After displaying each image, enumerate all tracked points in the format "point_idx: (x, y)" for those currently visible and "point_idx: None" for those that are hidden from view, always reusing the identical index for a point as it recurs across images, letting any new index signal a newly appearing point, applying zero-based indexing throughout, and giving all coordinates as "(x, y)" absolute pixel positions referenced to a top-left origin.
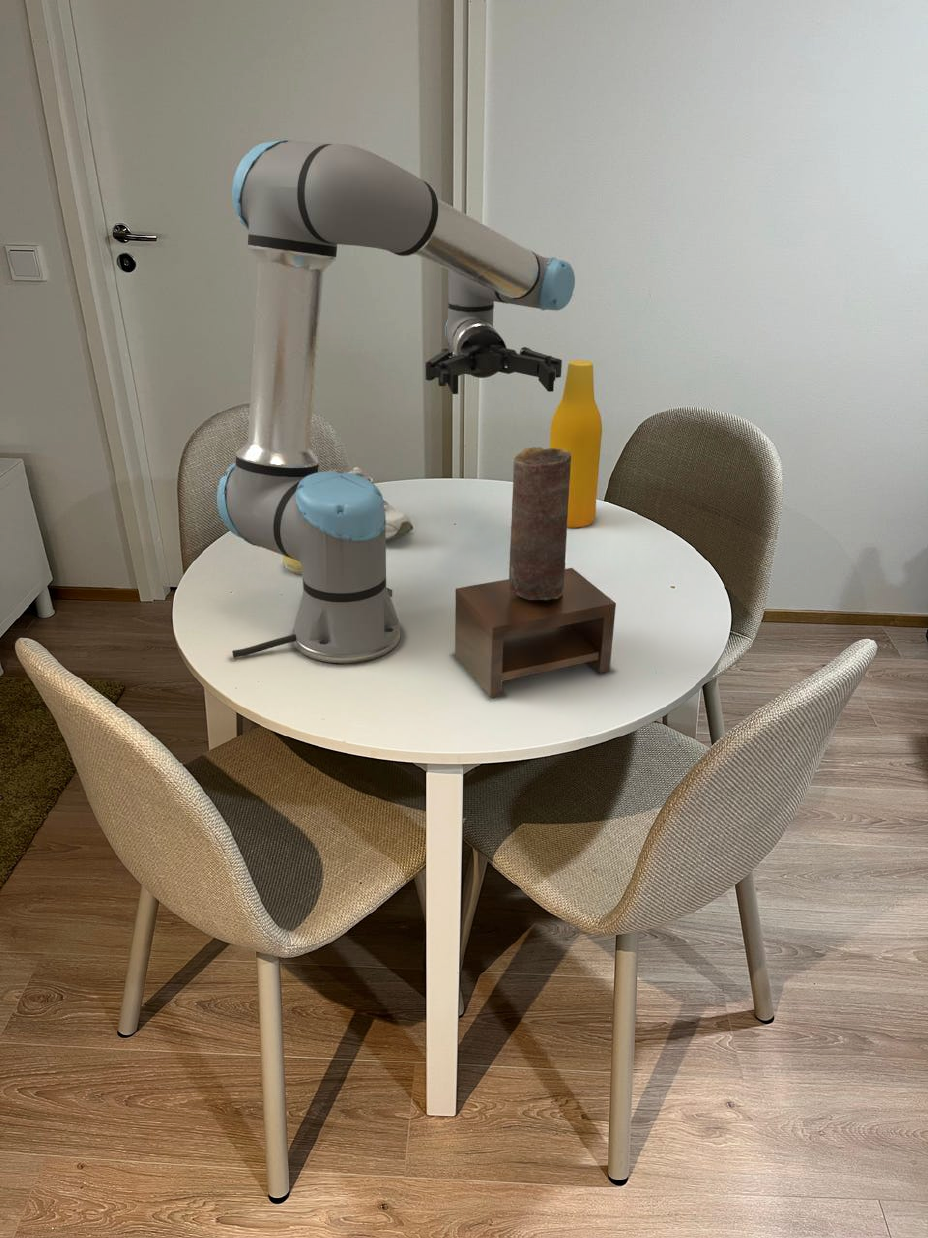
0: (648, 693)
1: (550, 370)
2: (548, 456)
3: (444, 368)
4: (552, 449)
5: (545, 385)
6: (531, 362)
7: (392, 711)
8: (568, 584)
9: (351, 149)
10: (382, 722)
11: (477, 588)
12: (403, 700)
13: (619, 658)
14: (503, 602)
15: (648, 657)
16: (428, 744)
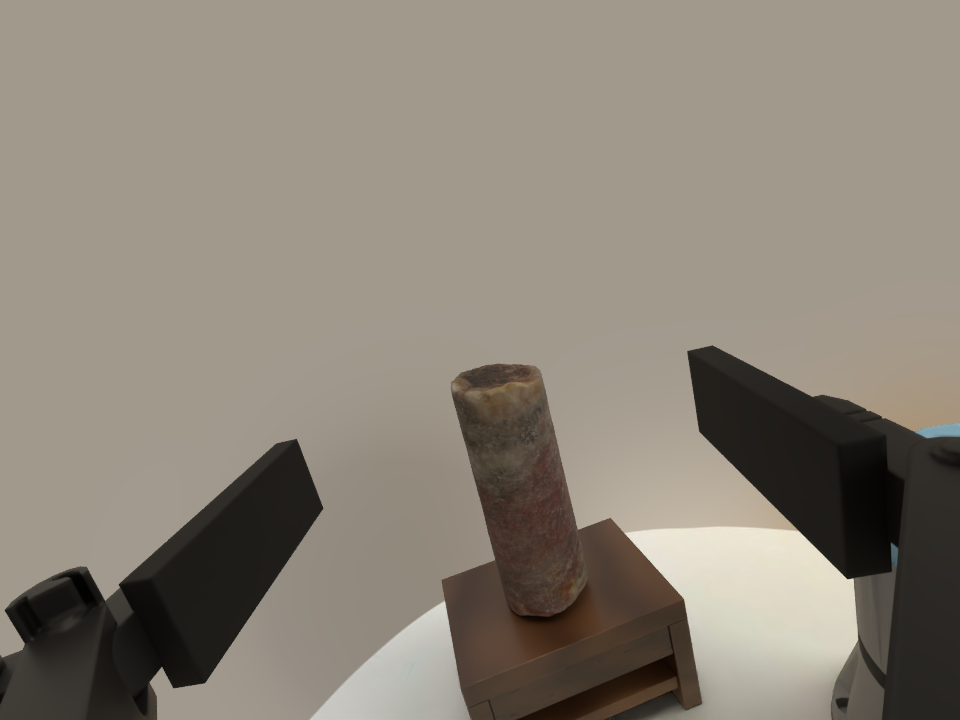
0: (443, 622)
1: (266, 458)
2: (484, 385)
3: (900, 459)
4: (471, 388)
5: (295, 531)
6: (107, 700)
7: (745, 571)
8: (488, 624)
9: None
10: (748, 554)
11: (643, 601)
12: (741, 590)
13: (442, 700)
14: (597, 567)
15: (401, 703)
16: (683, 532)
